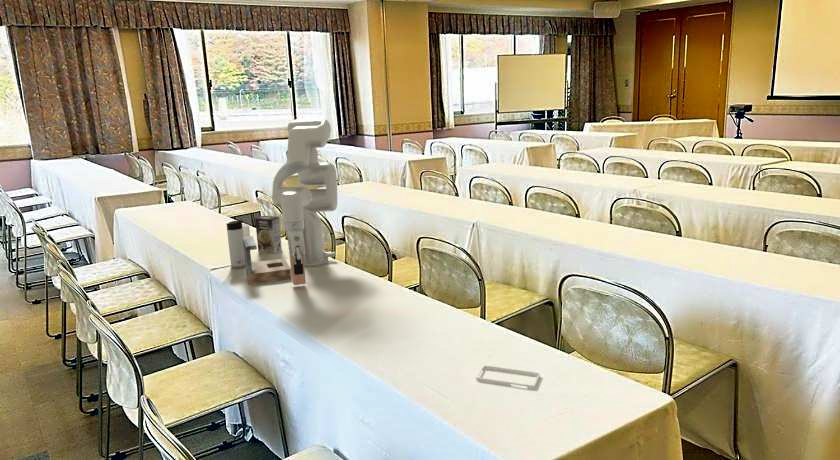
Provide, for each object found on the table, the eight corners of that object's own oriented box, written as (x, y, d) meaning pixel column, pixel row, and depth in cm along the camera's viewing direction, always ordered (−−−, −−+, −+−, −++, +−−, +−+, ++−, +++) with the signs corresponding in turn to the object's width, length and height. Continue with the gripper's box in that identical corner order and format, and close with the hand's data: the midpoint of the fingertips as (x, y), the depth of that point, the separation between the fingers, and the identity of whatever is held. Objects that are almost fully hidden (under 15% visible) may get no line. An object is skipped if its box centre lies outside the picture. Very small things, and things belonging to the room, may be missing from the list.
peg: (303, 279, 235) (301, 249, 232) (305, 283, 231) (303, 253, 228) (292, 281, 234) (289, 251, 230) (293, 285, 230) (290, 254, 226)
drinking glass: (255, 257, 274) (252, 224, 270) (245, 261, 268) (241, 227, 265) (243, 255, 277) (240, 223, 273) (233, 260, 271) (229, 226, 267)
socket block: (285, 267, 257) (282, 232, 254) (291, 278, 243) (288, 241, 239) (246, 272, 252) (242, 237, 248) (249, 284, 237) (245, 246, 234)
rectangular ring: (540, 377, 158) (483, 369, 163) (540, 372, 158) (483, 364, 163) (534, 391, 151) (475, 382, 157) (534, 386, 151) (475, 377, 156)
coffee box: (257, 252, 282) (254, 218, 278) (266, 248, 287) (262, 215, 283) (274, 254, 278) (271, 219, 274) (282, 250, 284) (279, 216, 280)
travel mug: (243, 269, 257) (238, 222, 252) (228, 268, 258) (223, 222, 253) (249, 264, 263) (245, 219, 258) (235, 264, 264) (230, 218, 259)
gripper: (307, 229, 220) (312, 277, 225) (300, 218, 235) (304, 264, 240) (286, 231, 217) (291, 280, 222) (280, 220, 233) (284, 266, 238)
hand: (297, 271), depth 231 cm, fingers closed on peg, 4 cm apart
